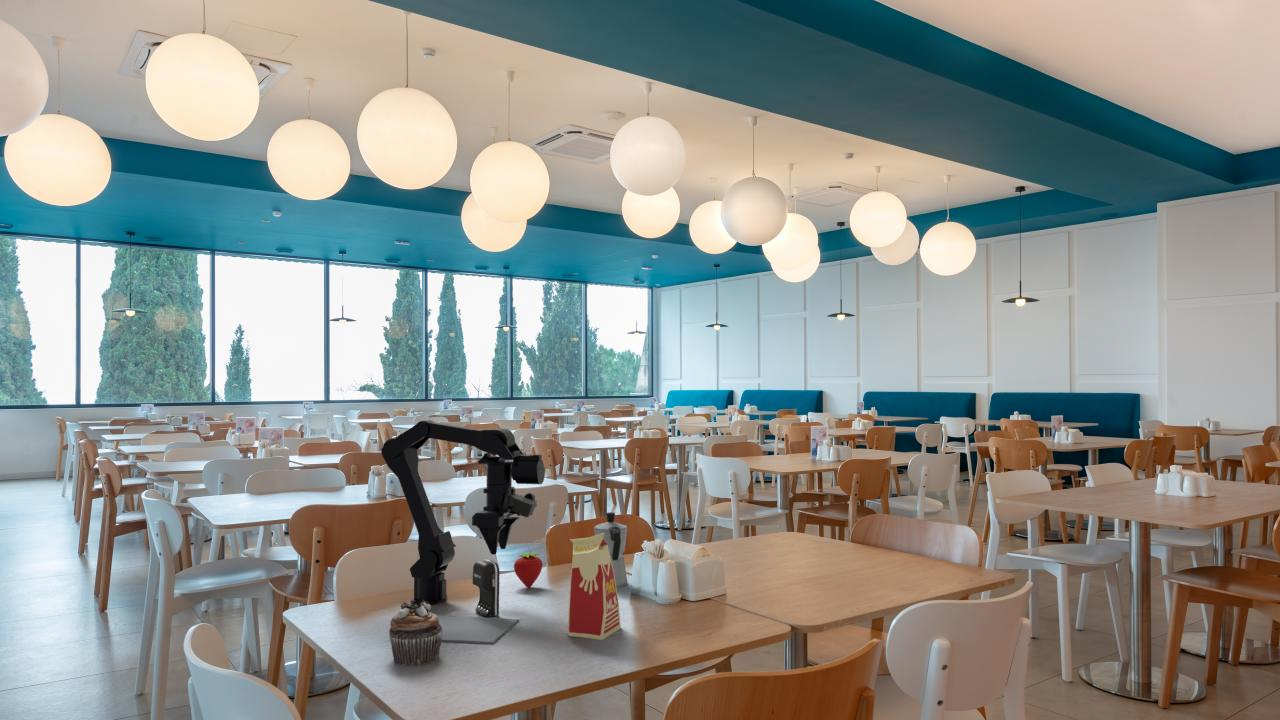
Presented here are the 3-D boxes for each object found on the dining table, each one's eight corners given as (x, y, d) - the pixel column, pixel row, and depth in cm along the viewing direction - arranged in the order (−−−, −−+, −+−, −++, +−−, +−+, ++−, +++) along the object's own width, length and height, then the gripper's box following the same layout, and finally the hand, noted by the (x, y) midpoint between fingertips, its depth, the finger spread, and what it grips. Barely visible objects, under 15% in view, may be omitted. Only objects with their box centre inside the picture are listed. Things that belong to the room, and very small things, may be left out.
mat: (405, 639, 158) (405, 637, 158) (438, 617, 174) (438, 615, 174) (492, 644, 155) (492, 641, 155) (518, 621, 171) (518, 619, 171)
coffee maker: (589, 579, 210) (589, 509, 210) (622, 577, 212) (622, 508, 213) (600, 593, 195) (600, 518, 196) (635, 590, 197) (635, 516, 198)
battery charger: (470, 612, 178) (470, 560, 179) (486, 609, 180) (486, 558, 181) (483, 619, 173) (484, 565, 173) (500, 616, 175) (500, 563, 175)
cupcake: (392, 670, 141) (392, 612, 141) (386, 653, 150) (386, 599, 150) (447, 662, 145) (448, 606, 145) (438, 647, 154) (438, 594, 154)
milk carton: (620, 627, 166) (620, 529, 167) (604, 640, 158) (604, 537, 158) (580, 623, 169) (580, 527, 170) (561, 636, 161) (561, 534, 161)
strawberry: (509, 587, 201) (509, 547, 201) (535, 583, 205) (535, 543, 206) (520, 592, 196) (520, 550, 197) (547, 587, 201) (547, 547, 201)
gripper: (520, 488, 176) (519, 561, 175) (544, 479, 194) (543, 545, 193) (471, 487, 177) (470, 559, 177) (499, 479, 196) (499, 543, 195)
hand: (498, 551), depth 185 cm, fingers open, 6 cm apart
